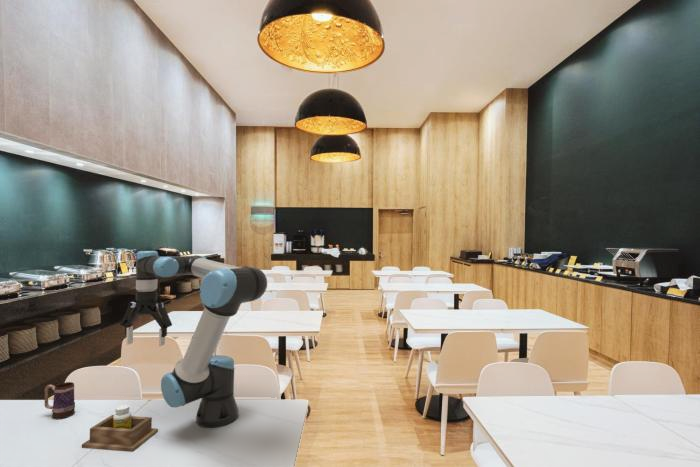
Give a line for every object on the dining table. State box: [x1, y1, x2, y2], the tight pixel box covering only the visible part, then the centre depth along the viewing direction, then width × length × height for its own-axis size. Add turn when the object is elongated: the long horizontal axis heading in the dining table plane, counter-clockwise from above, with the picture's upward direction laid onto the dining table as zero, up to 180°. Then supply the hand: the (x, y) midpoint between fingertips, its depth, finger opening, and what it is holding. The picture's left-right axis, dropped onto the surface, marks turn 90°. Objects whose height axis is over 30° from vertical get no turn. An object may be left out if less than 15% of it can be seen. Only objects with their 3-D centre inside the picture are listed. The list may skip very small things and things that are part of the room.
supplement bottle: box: [113, 404, 133, 429], centre depth 129 cm, size 5×5×10 cm
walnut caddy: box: [81, 414, 159, 452], centre depth 129 cm, size 18×13×6 cm
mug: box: [43, 381, 76, 420], centre depth 146 cm, size 10×7×12 cm
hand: (145, 344), depth 149 cm, fingers open, 13 cm apart
